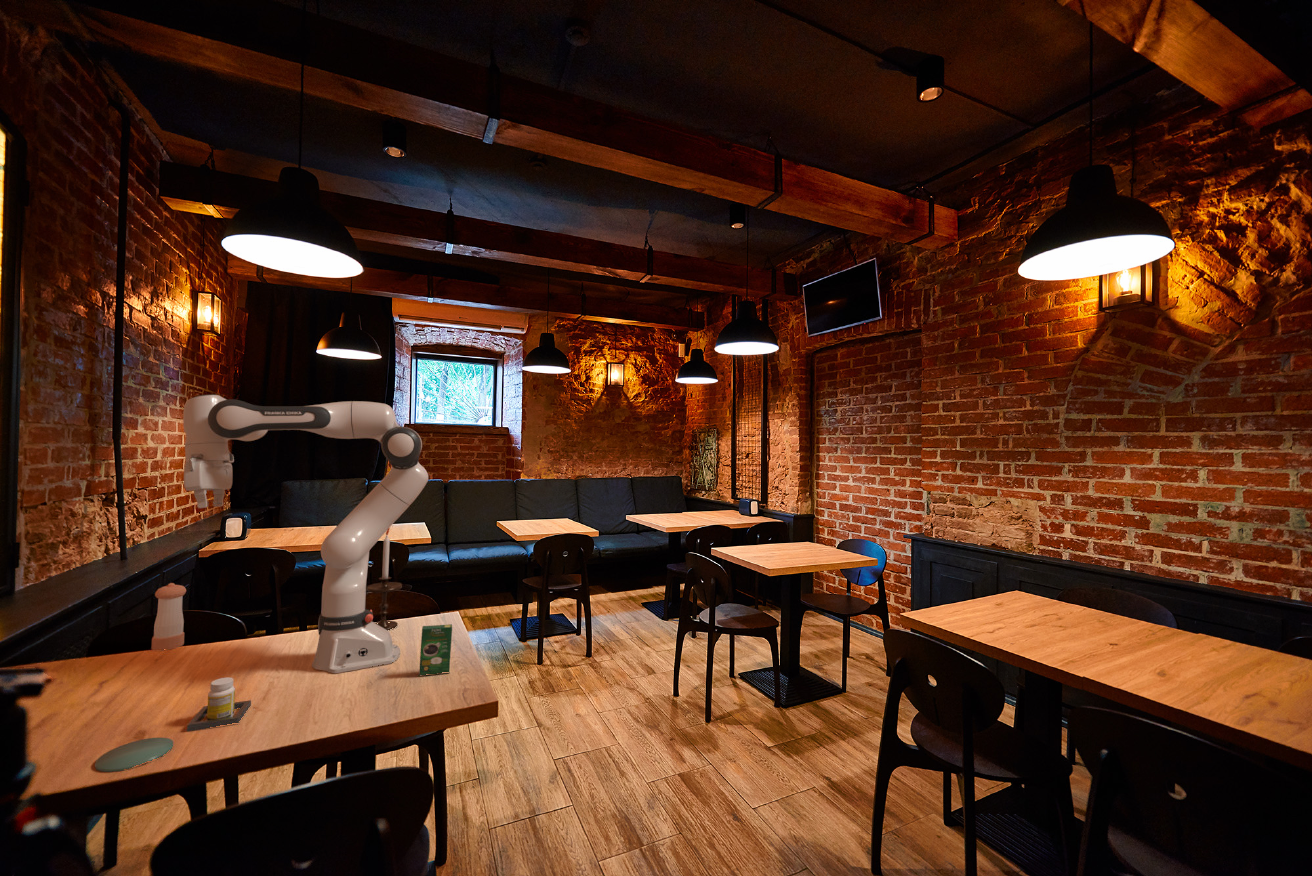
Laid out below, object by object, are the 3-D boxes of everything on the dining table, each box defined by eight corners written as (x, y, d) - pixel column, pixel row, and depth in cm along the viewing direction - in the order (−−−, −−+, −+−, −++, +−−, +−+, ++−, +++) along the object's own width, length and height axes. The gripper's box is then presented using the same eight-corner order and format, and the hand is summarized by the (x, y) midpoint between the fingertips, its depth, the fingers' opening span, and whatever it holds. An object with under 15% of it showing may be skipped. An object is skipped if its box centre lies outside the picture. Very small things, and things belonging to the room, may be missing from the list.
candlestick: (398, 620, 190) (402, 523, 191) (402, 629, 181) (406, 527, 182) (364, 625, 184) (368, 525, 186) (366, 634, 175) (370, 529, 176)
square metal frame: (250, 706, 125) (251, 700, 125) (238, 724, 117) (238, 717, 117) (203, 712, 122) (203, 706, 122) (186, 731, 113) (187, 725, 113)
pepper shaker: (165, 651, 157) (168, 586, 157) (144, 649, 158) (148, 585, 158) (190, 643, 164) (193, 581, 164) (170, 641, 165) (174, 579, 166)
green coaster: (182, 736, 112) (182, 733, 112) (158, 764, 101) (158, 761, 101) (114, 746, 107) (114, 743, 107) (81, 777, 97) (81, 773, 97)
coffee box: (450, 669, 149) (452, 623, 149) (450, 673, 146) (452, 626, 147) (419, 673, 146) (421, 625, 147) (418, 677, 143) (420, 628, 144)
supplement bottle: (217, 713, 121) (219, 676, 122) (238, 713, 122) (240, 676, 122) (201, 724, 117) (203, 685, 117) (223, 723, 117) (225, 685, 117)
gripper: (205, 452, 132) (209, 506, 132) (236, 456, 151) (239, 504, 151) (173, 454, 130) (177, 510, 129) (208, 458, 149) (212, 507, 148)
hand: (211, 507), depth 140 cm, fingers open, 8 cm apart
